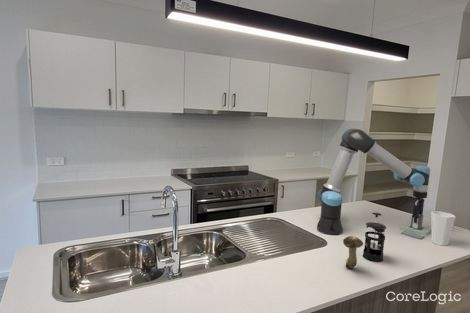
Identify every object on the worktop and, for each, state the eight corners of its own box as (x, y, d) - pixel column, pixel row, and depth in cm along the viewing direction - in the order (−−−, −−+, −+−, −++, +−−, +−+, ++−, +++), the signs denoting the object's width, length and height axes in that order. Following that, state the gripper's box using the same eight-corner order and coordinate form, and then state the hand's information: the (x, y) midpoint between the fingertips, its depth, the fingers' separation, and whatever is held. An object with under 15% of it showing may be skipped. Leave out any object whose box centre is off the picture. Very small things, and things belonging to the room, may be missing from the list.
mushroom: (358, 275, 127) (361, 243, 125) (338, 269, 132) (340, 238, 130) (362, 266, 135) (365, 236, 133) (342, 261, 140) (345, 231, 138)
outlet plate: (400, 229, 185) (400, 226, 184) (407, 224, 194) (407, 221, 194) (425, 236, 174) (425, 233, 174) (431, 230, 184) (432, 227, 184)
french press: (374, 264, 138) (379, 217, 135) (357, 256, 146) (361, 212, 143) (389, 259, 144) (394, 214, 141) (372, 251, 152) (376, 208, 149)
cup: (452, 243, 164) (456, 214, 162) (450, 249, 157) (454, 218, 155) (429, 237, 172) (432, 209, 170) (426, 242, 165) (429, 213, 162)
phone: (400, 234, 177) (400, 232, 177) (404, 232, 181) (405, 230, 181) (420, 240, 169) (420, 238, 169) (424, 238, 172) (424, 236, 172)
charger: (410, 226, 184) (412, 214, 183) (413, 225, 188) (414, 212, 187) (419, 229, 181) (421, 216, 180) (421, 227, 184) (423, 214, 183)
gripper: (423, 194, 172) (418, 231, 175) (431, 189, 184) (427, 225, 187) (409, 191, 178) (405, 228, 181) (417, 187, 190) (414, 221, 193)
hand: (416, 226), depth 184 cm, fingers closed on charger, 5 cm apart
